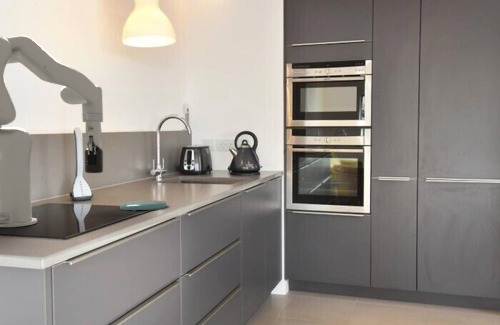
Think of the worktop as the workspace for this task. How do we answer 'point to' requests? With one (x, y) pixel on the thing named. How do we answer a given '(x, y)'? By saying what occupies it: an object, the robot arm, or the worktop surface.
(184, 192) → the worktop surface
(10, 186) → the robot arm
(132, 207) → the dish
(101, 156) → the supplement bottle
